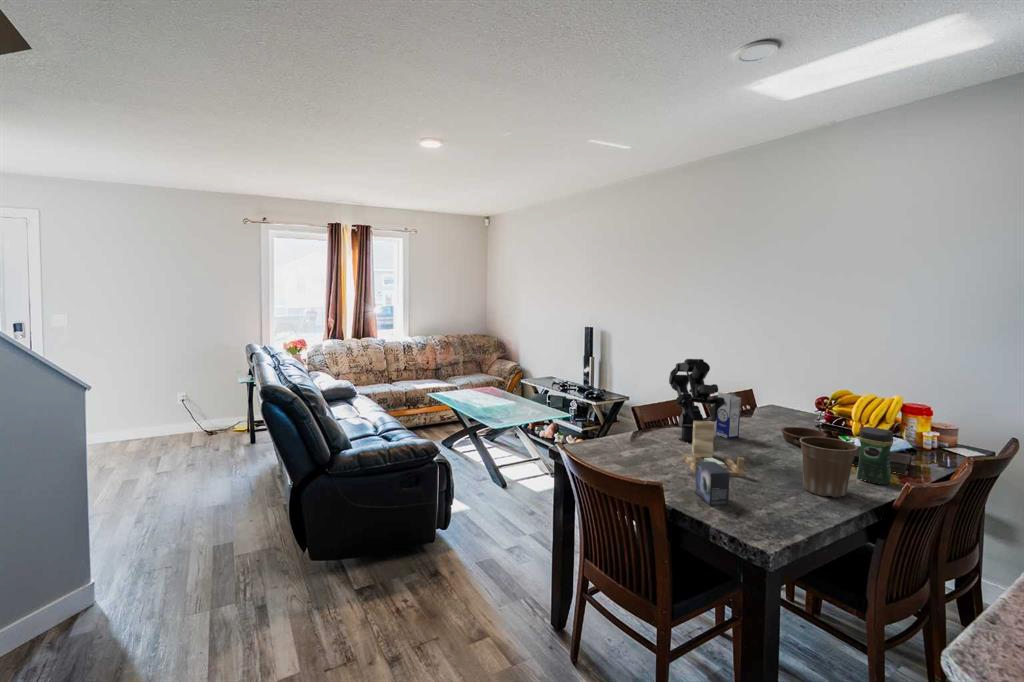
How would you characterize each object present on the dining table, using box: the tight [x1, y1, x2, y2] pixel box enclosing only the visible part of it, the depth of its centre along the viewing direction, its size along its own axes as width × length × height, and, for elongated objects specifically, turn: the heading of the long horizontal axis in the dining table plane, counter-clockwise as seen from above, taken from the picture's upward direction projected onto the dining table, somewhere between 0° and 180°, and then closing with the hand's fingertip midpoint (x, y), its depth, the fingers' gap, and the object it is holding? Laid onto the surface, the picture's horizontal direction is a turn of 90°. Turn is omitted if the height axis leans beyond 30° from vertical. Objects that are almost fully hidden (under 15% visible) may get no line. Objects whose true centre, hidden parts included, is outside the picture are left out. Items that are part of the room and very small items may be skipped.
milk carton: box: [715, 391, 742, 440], centre depth 236 cm, size 7×7×20 cm
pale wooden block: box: [691, 420, 715, 458], centre depth 206 cm, size 4×7×14 cm, turn 85°
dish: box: [780, 426, 827, 447], centre depth 230 cm, size 17×22×5 cm
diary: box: [852, 445, 913, 474], centre depth 203 cm, size 19×25×5 cm
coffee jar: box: [856, 425, 894, 485], centre depth 183 cm, size 10×8×19 cm
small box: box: [695, 461, 731, 507], centre depth 165 cm, size 11×6×10 cm, turn 5°
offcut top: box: [703, 457, 726, 468], centre depth 190 cm, size 4×7×2 cm, turn 17°
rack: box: [684, 454, 745, 478], centre depth 192 cm, size 17×16×7 cm
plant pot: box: [800, 437, 858, 498], centre depth 172 cm, size 16×16×16 cm
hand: (704, 419), depth 211 cm, fingers open, 9 cm apart
